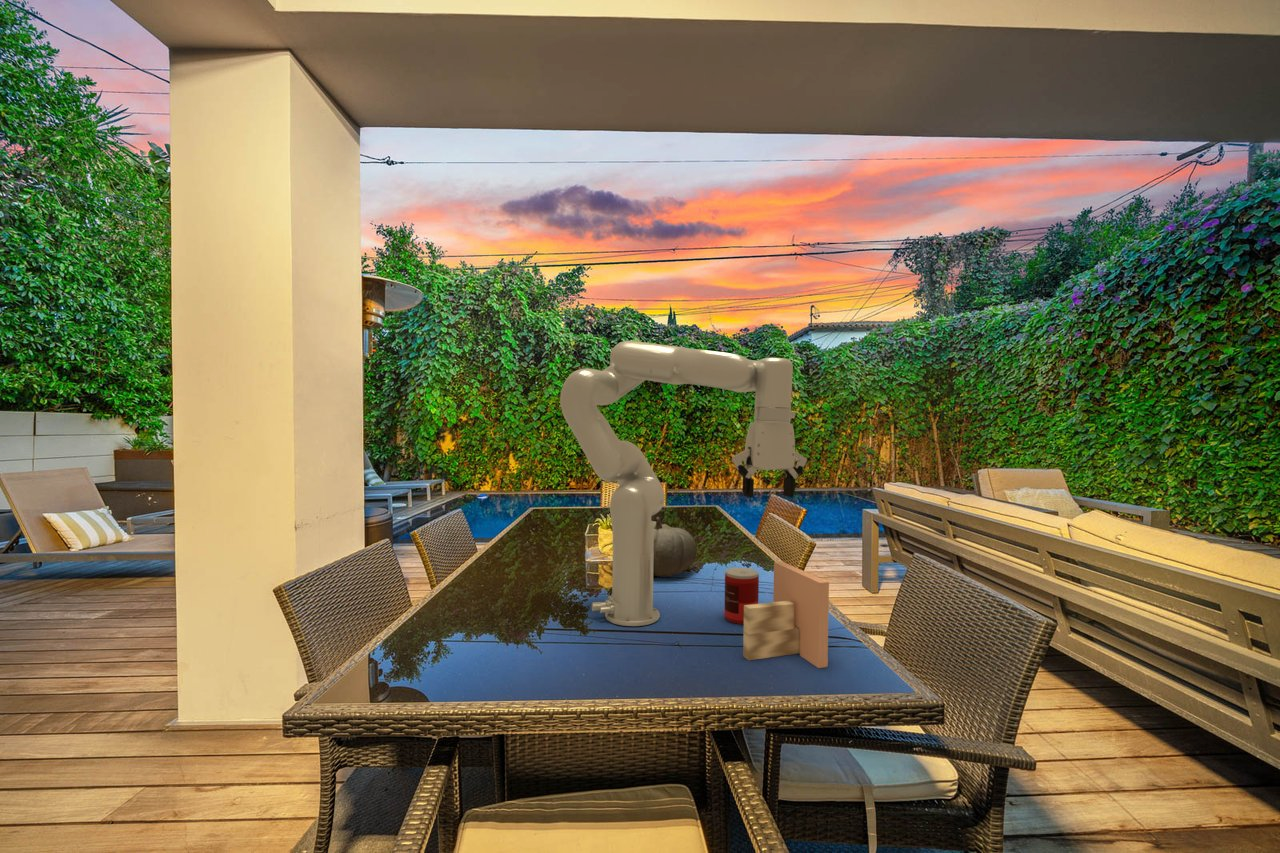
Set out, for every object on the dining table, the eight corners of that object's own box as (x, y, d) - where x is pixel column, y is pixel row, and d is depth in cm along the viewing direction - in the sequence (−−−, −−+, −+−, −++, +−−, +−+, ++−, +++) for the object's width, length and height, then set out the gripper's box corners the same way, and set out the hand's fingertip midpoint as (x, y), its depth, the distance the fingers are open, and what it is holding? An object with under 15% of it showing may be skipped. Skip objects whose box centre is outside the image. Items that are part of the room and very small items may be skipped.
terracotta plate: (818, 668, 107) (819, 582, 106) (772, 636, 122) (773, 562, 122) (827, 666, 107) (828, 582, 107) (781, 635, 122) (782, 561, 122)
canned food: (761, 615, 135) (762, 569, 135) (753, 626, 128) (754, 577, 127) (729, 610, 138) (730, 565, 138) (720, 621, 131) (720, 573, 131)
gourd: (602, 571, 162) (611, 510, 164) (619, 564, 186) (627, 511, 188) (689, 586, 157) (698, 523, 159) (695, 577, 181) (702, 522, 184)
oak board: (748, 660, 110) (749, 608, 110) (743, 656, 112) (743, 605, 111) (827, 649, 116) (827, 600, 115) (821, 645, 117) (821, 597, 117)
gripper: (797, 417, 128) (794, 493, 128) (727, 414, 123) (723, 494, 123) (817, 418, 121) (813, 499, 121) (743, 415, 116) (739, 499, 116)
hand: (768, 496), depth 122 cm, fingers open, 9 cm apart
